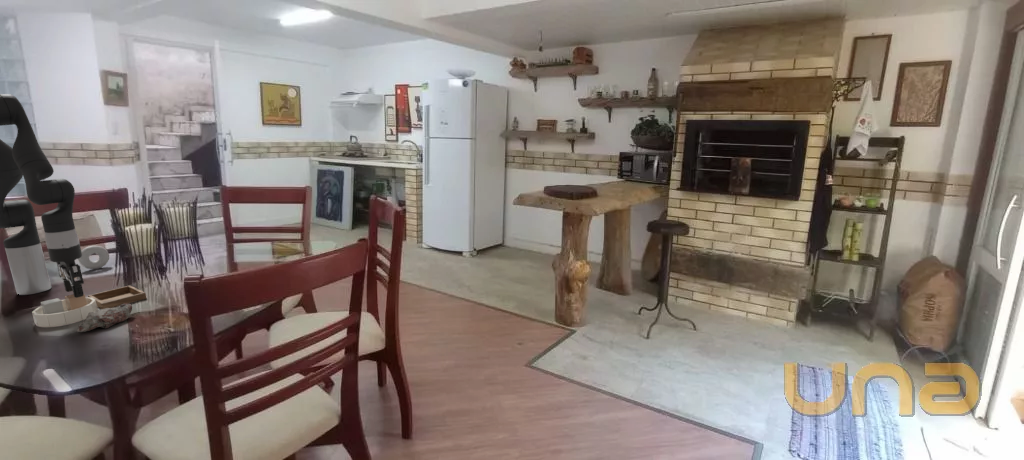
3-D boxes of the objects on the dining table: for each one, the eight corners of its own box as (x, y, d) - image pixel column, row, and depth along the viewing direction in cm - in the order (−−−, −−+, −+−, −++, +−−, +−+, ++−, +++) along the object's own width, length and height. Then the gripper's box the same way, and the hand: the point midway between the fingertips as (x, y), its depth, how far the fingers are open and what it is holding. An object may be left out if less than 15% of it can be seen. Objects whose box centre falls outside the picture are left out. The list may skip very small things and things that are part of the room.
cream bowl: (30, 321, 153) (27, 308, 152) (89, 306, 164) (86, 294, 163) (43, 332, 144) (40, 318, 144) (104, 315, 156) (101, 303, 155)
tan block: (68, 314, 156) (64, 296, 155) (84, 310, 159) (80, 292, 158) (73, 316, 154) (68, 298, 152) (89, 312, 157) (84, 294, 156)
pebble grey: (45, 320, 151) (40, 302, 150) (62, 316, 155) (57, 298, 153) (48, 323, 149) (44, 304, 148) (65, 318, 152) (61, 300, 151)
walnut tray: (89, 302, 168) (87, 295, 167) (131, 291, 177) (129, 285, 177) (103, 310, 160) (101, 303, 159) (146, 299, 169) (145, 292, 169)
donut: (82, 272, 201) (76, 249, 198) (80, 271, 203) (74, 247, 200) (112, 266, 208) (107, 243, 206) (110, 265, 210) (105, 242, 208)
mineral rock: (81, 337, 141) (77, 322, 140) (72, 330, 145) (68, 316, 144) (141, 319, 153) (139, 306, 152) (131, 314, 157) (128, 301, 156)
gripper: (40, 243, 153) (52, 292, 157) (54, 251, 145) (66, 302, 149) (71, 238, 159) (82, 285, 163) (86, 245, 151) (97, 294, 155)
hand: (74, 293), depth 156 cm, fingers open, 8 cm apart
